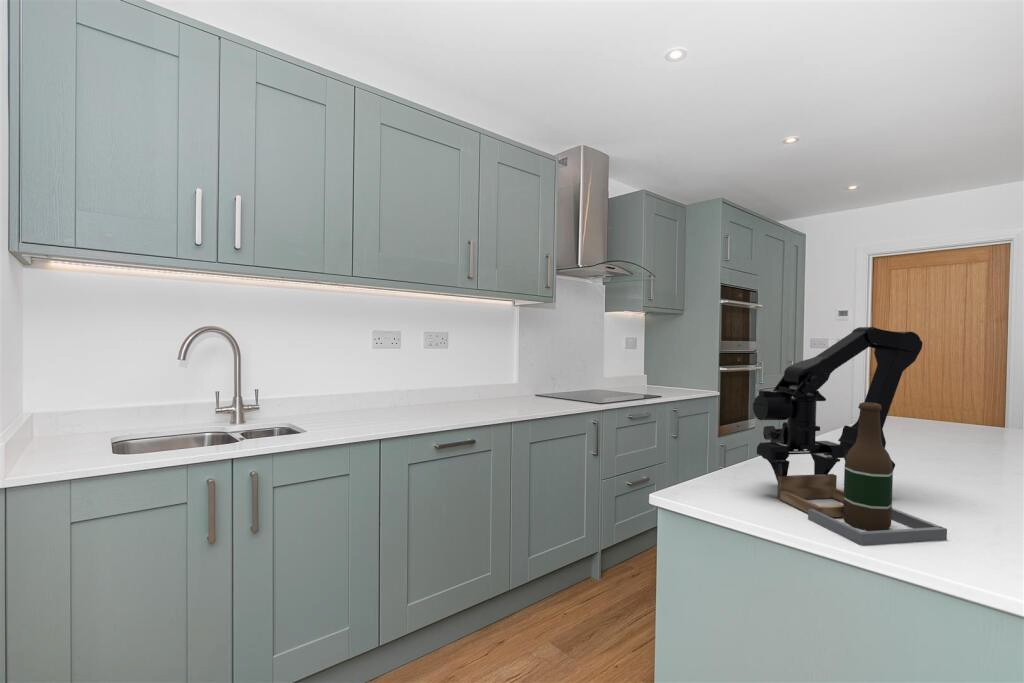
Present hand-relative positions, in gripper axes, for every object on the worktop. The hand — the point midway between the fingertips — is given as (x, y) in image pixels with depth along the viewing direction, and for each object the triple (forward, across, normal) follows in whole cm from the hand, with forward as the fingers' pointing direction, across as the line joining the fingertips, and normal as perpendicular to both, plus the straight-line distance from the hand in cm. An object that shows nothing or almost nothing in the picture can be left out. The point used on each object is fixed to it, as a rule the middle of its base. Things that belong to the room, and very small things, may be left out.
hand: (799, 487), depth 114 cm
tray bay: (+2, 0, +19) cm, 19 cm away
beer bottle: (+2, 0, +18) cm, 18 cm away
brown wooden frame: (+2, 0, +8) cm, 8 cm away
